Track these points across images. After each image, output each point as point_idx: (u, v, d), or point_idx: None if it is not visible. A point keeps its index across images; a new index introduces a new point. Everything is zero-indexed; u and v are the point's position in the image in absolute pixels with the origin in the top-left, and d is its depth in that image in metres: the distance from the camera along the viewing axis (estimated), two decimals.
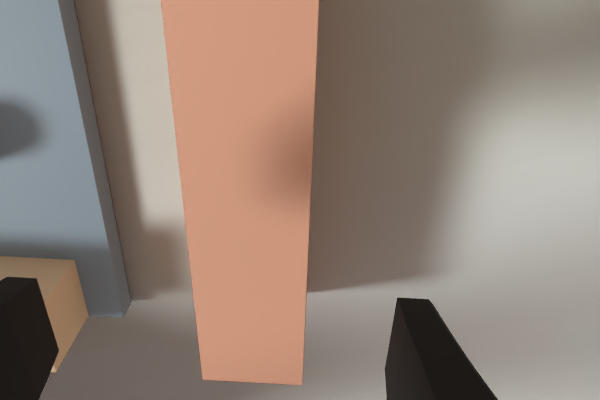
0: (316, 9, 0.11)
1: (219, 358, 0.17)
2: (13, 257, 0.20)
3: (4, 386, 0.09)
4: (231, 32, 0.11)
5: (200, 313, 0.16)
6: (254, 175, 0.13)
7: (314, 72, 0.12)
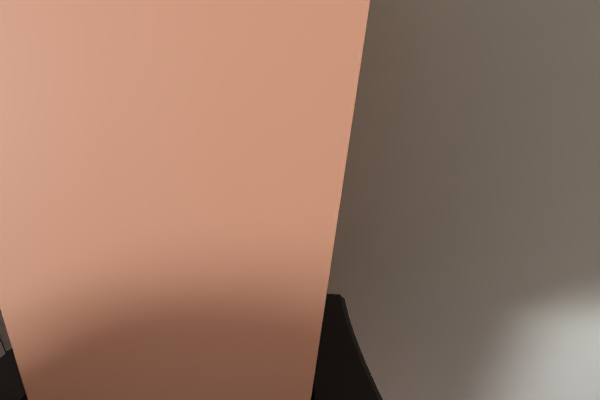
0: (339, 178, 0.04)
1: None
2: None
3: None
4: (130, 211, 0.05)
5: None
6: None
7: (323, 297, 0.05)
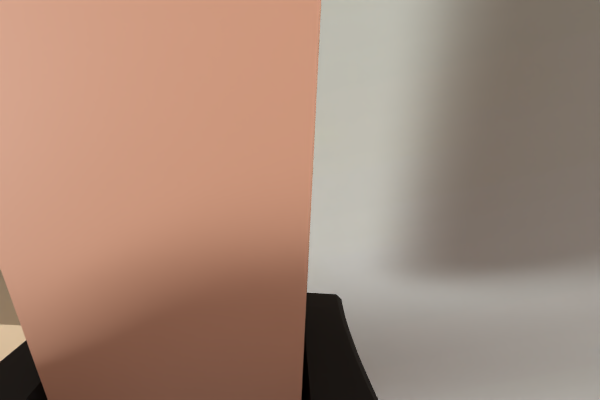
0: (309, 146, 0.05)
1: None
2: None
3: None
4: (119, 188, 0.05)
5: None
6: None
7: (305, 262, 0.05)
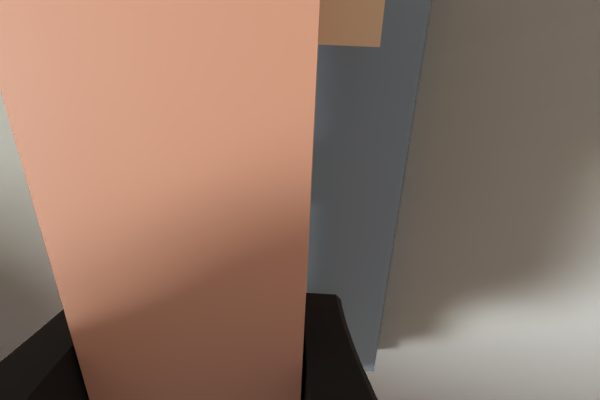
0: (310, 114, 0.06)
1: None
2: None
3: None
4: (147, 152, 0.06)
5: None
6: (204, 367, 0.08)
7: (307, 220, 0.06)
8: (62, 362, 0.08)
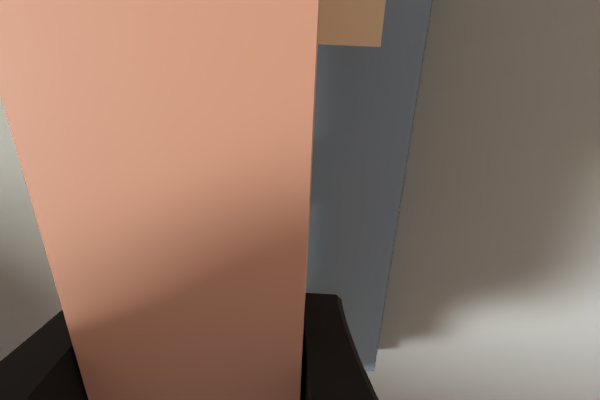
0: (309, 114, 0.06)
1: None
2: None
3: None
4: (144, 152, 0.06)
5: None
6: (204, 368, 0.08)
7: (306, 220, 0.06)
8: (61, 362, 0.08)
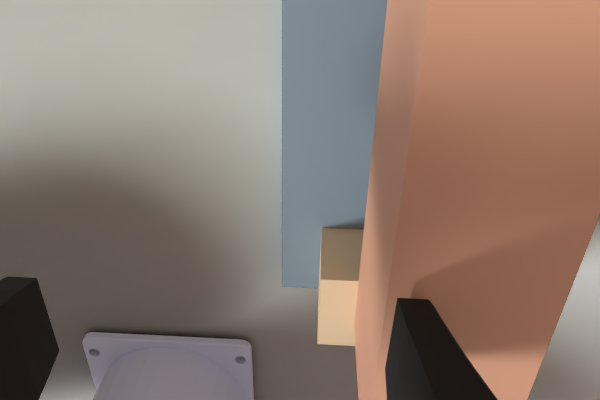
0: None
1: None
2: None
3: (4, 386, 0.09)
4: None
5: (381, 386, 0.11)
6: (516, 201, 0.09)
7: None
8: None
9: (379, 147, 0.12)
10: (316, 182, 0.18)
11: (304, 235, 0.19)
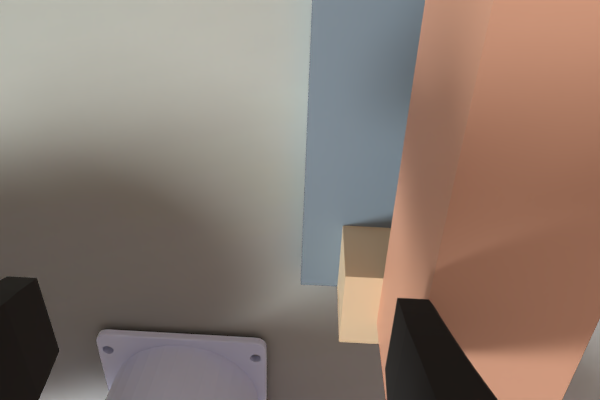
0: None
1: None
2: None
3: (4, 386, 0.09)
4: None
5: None
6: (566, 194, 0.09)
7: None
8: None
9: (415, 142, 0.12)
10: (339, 179, 0.18)
11: (325, 233, 0.19)
